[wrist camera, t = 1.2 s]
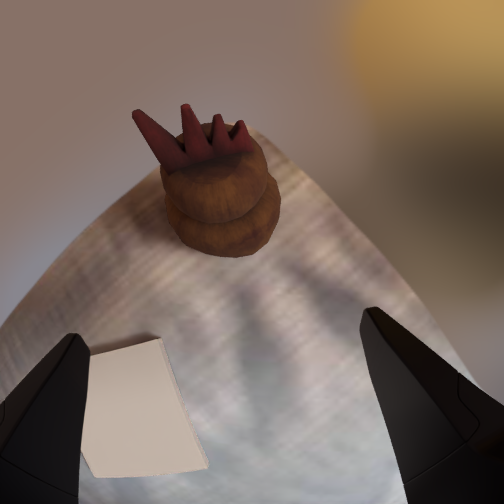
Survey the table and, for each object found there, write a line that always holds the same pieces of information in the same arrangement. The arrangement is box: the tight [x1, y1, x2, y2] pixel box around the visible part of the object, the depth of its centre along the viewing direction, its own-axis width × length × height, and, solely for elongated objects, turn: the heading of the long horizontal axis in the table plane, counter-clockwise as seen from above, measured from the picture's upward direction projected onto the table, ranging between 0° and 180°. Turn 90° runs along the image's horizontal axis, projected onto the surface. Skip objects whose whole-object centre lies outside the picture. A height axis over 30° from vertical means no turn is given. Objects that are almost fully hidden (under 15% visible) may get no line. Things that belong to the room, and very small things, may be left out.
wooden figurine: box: [132, 104, 281, 258], centre depth 16 cm, size 7×6×15 cm
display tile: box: [81, 338, 209, 478], centre depth 19 cm, size 11×11×1 cm
